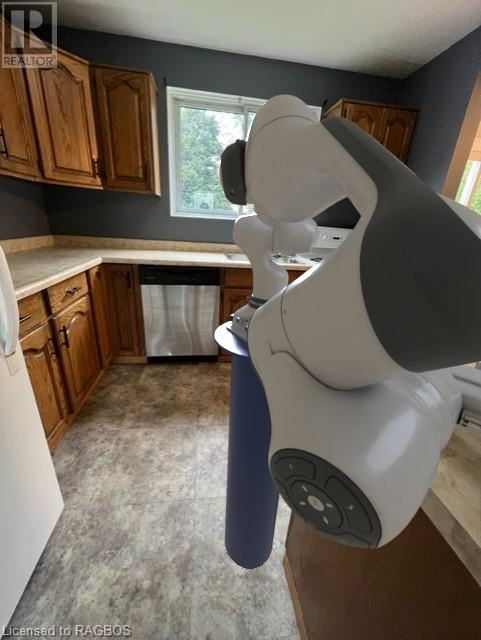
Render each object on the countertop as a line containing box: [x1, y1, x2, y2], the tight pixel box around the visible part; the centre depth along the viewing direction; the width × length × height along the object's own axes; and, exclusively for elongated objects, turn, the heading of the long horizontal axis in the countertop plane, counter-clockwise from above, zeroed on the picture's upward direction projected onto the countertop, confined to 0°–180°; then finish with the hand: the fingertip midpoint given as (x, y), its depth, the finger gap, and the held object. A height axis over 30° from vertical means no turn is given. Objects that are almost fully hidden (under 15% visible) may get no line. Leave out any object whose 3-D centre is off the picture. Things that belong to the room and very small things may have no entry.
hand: (436, 355), depth 36 cm, fingers open, 8 cm apart
